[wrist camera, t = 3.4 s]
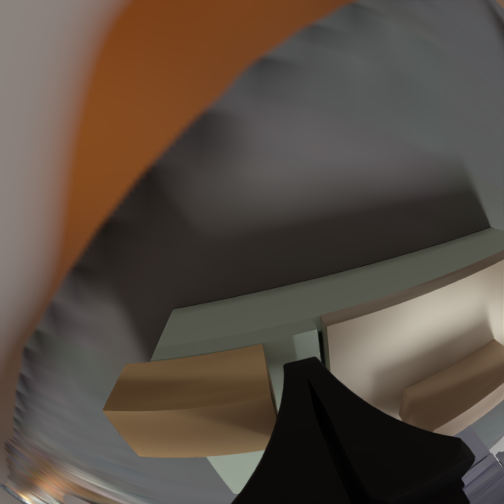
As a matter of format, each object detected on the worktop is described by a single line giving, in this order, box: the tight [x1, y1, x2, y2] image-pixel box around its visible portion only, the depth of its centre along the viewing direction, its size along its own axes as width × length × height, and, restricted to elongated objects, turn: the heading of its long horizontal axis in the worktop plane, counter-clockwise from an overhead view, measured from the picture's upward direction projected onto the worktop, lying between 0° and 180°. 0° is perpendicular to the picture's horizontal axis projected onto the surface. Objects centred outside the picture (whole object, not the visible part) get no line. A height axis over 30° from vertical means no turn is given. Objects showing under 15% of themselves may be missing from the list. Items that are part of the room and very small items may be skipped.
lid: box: [320, 250, 504, 436], centre depth 11 cm, size 14×16×4 cm
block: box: [102, 344, 278, 458], centre depth 9 cm, size 3×6×3 cm, turn 102°
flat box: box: [150, 227, 504, 494], centre depth 15 cm, size 14×24×5 cm, turn 102°
